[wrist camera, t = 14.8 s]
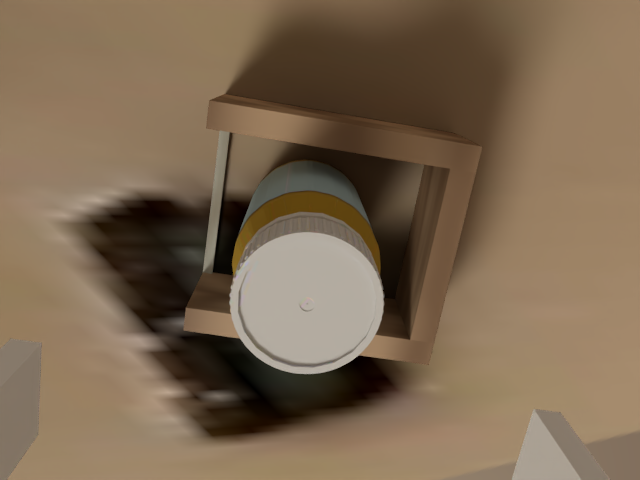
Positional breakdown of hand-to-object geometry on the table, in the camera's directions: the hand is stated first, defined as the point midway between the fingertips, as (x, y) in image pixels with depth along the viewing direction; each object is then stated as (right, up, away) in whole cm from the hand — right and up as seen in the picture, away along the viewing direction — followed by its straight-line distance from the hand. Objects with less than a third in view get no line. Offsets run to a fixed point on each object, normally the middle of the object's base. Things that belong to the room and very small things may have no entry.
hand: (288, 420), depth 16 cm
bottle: (0, +7, +22) cm, 23 cm away
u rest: (+1, +6, +22) cm, 23 cm away
